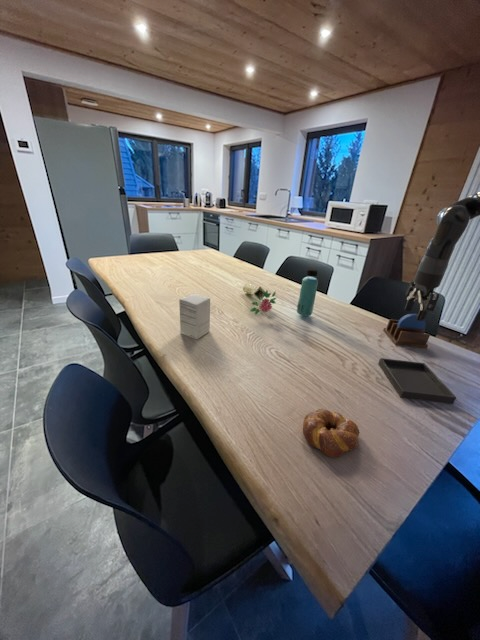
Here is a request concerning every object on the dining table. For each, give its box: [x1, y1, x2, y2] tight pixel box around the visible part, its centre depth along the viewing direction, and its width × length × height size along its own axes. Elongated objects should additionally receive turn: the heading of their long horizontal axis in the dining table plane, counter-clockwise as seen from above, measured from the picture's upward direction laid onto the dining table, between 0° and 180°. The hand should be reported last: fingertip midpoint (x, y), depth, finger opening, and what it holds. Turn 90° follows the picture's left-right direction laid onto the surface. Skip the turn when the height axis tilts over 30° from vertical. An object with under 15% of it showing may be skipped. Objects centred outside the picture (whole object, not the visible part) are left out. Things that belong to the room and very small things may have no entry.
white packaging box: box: [178, 292, 211, 340], centre depth 88 cm, size 7×7×13 cm
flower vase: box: [242, 283, 277, 315], centre depth 113 cm, size 12×12×35 cm
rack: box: [383, 318, 431, 349], centre depth 97 cm, size 11×11×5 cm
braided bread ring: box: [302, 408, 361, 458], centre depth 55 cm, size 12×11×4 cm
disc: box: [397, 313, 427, 330], centre depth 96 cm, size 9×2×9 cm, turn 84°
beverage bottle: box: [296, 268, 319, 317], centre depth 106 cm, size 6×7×20 cm
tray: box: [378, 357, 457, 405], centre depth 74 cm, size 13×15×2 cm
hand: (413, 315), depth 94 cm, fingers open, 8 cm apart
